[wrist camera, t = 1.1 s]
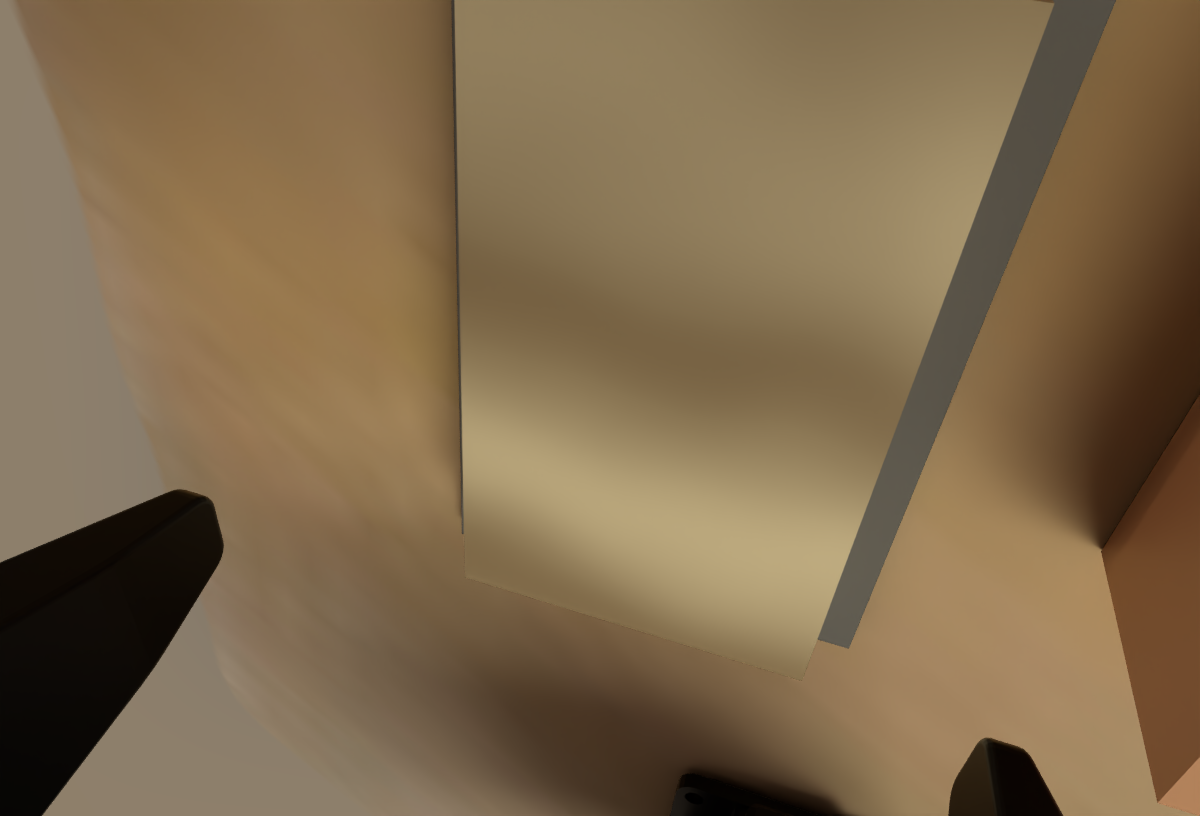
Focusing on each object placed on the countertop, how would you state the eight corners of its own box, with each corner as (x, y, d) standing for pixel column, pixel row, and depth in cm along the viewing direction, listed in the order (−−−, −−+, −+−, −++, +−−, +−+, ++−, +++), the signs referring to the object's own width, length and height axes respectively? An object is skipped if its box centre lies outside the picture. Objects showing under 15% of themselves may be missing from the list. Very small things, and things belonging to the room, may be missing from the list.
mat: (849, 634, 19) (848, 648, 18) (469, 522, 20) (462, 533, 20) (1154, -113, 10) (1160, -110, 10) (460, -195, 12) (447, -195, 12)
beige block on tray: (813, 604, 18) (801, 681, 16) (502, 514, 19) (464, 577, 18) (1036, -27, 11) (1054, 3, 9) (513, -101, 12) (452, -85, 10)
